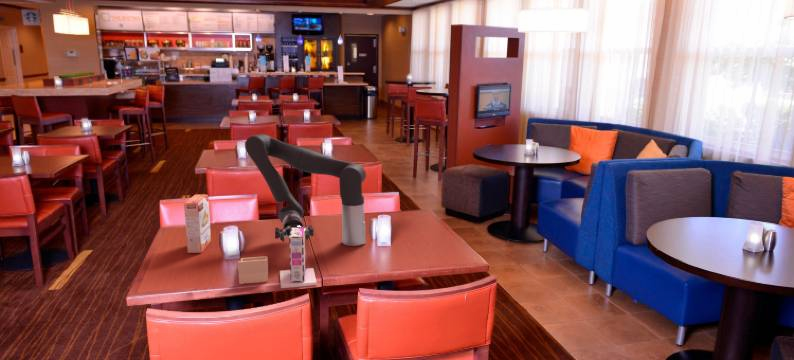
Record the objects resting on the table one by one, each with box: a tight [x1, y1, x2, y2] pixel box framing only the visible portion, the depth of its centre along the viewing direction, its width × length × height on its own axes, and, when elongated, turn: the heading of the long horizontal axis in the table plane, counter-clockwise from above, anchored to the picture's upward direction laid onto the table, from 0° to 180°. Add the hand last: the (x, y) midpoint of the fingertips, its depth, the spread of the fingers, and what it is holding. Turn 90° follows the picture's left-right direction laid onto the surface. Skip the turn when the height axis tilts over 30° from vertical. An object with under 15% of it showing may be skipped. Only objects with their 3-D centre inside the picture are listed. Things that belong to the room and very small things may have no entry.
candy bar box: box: [288, 226, 307, 282], centre depth 186 cm, size 11×5×16 cm, turn 7°
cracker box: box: [183, 194, 212, 254], centre depth 216 cm, size 14×6×21 cm, turn 3°
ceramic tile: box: [279, 267, 318, 289], centre depth 188 cm, size 12×13×1 cm
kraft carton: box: [237, 255, 269, 285], centre depth 193 cm, size 10×19×8 cm, turn 14°
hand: (295, 238), depth 196 cm, fingers open, 8 cm apart
